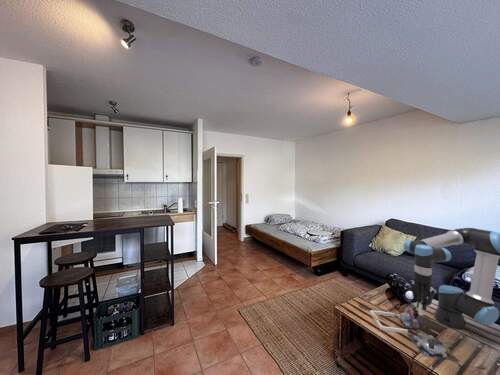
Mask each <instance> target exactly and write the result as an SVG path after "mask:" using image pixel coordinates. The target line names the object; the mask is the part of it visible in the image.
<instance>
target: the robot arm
mask: <svg viewBox="0 0 500 375" xmlns="http://www.w3.org/2000/svg"><path fill="white" fill-rule="evenodd" d="M453 245H454V246H460V245H465V246H470V247H472V248H473V247H474V248H473V251H474V252H475V253H476V256H475V259H474V260H475V261H474V266H473V272H472V277H471V281H470V283H471V284H470V287H469V290H468V291H467V292H466V291H464V289H462V288H460V287H458V286H453V285H444V284H442V285H440V286H439V287H438V290H437V289H435V288H434V287H433V285H432V282H433V281H432V280H433V278H432V276H433V263H446V262H449V261H450V260H451V259H452V254H451V252H450V250H448V249H447V248H446V247H450V246H453ZM403 249H404V250H405V251H406V252H408V253H411V254H414V269H413V270H414V273H413V278H414V279H413V280H408V283H409V285H410V288H411V293H412V298H413V299H414V300H416V301H417V302H416V303H417V304H416V306H417V308H418V315H419V316H425V312H426V310H427V308H428V306H430V305H432V302H433V300H434V298H435V294H437V293H438V298H437V299H438V301H437V302H438V303H437V304H438V305H437V308H436V310H435V311H434V314H433V316H434V317H433V318H435V319H436V320H437V321H438V322H439V323H440V324H442V325H444V326H447V327H450V328H451V329H455V330H465V329H466V328H467V323H466V319H465V317H464V315H465V316H467V317H469V318H471V319H473V320H474V321H476V322H479V323H480V324H483V325H486V326H489V325H493V324H494V323H496V322H497V320H498V319H499V317H500V312H499V309H498V308H497V307H495V302H494V301H493V300H492V296H493V289H494V285H495V280H496V273H497V270H498V269H497V268H498V265H499V259H500V232H497V231H492V230H486V229H480V228H475V227H474V228H473V227H462V228H455V229H452V230H451V229H450V230H448V231H447V232H446V233H442V234H439V235H434V236H431V237H427V238H423V239H420V240H415V241H414V240H409V239H408V240H405V241H404V244H403ZM429 291H430V292H429Z"/></svg>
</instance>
